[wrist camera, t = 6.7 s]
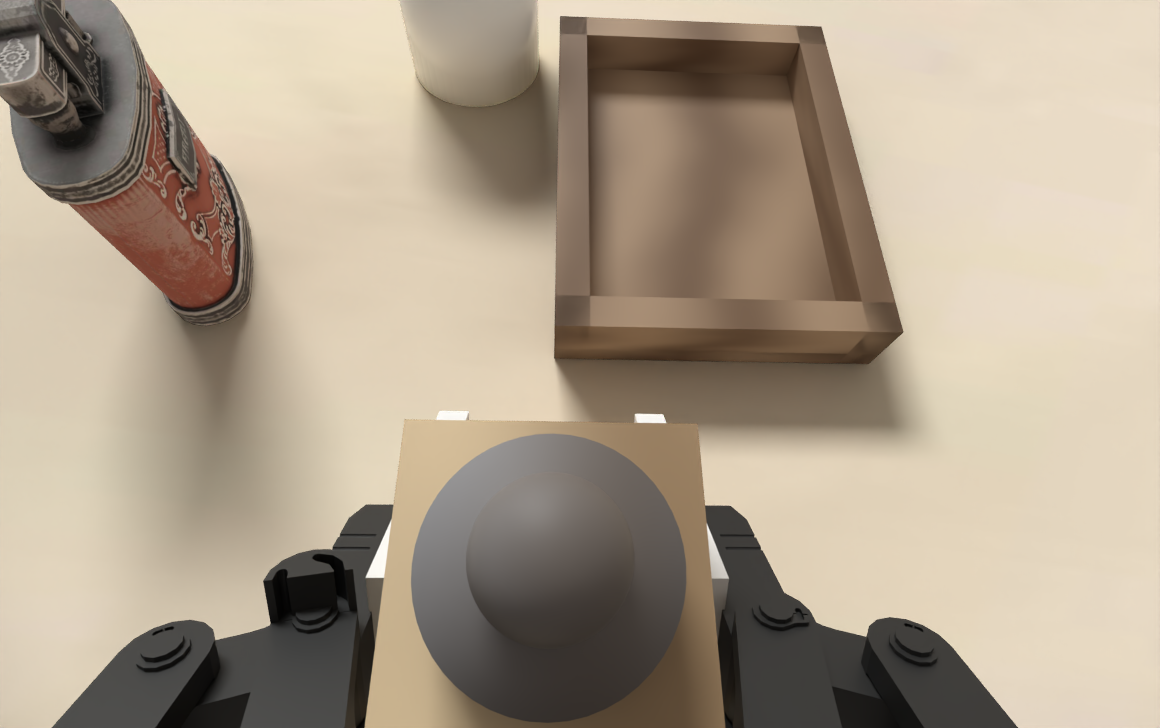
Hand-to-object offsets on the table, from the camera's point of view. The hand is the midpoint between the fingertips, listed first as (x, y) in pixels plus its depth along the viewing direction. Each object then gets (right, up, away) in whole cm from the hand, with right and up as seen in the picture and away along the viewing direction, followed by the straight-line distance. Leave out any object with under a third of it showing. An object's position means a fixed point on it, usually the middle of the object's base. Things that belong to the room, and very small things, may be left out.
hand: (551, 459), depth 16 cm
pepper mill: (0, -5, +2) cm, 5 cm away
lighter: (-14, +7, +8) cm, 18 cm away
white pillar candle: (-4, +17, +13) cm, 22 cm away
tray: (+6, +10, +10) cm, 15 cm away
